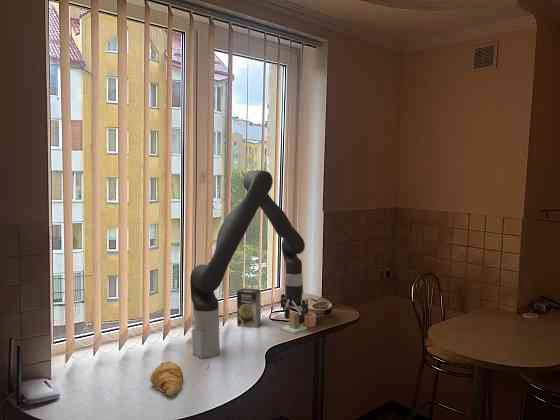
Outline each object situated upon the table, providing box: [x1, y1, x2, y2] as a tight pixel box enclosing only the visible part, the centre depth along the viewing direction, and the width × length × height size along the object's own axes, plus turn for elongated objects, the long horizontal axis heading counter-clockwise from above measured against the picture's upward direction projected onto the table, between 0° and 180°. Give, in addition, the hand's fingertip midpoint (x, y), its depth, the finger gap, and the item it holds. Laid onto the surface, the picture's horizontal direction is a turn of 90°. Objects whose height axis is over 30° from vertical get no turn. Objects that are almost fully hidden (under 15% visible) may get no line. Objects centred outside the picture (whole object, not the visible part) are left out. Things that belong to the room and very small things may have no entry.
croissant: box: [149, 361, 184, 397], centre depth 151 cm, size 21×10×8 cm, turn 22°
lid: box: [281, 311, 308, 335], centre depth 199 cm, size 8×8×7 cm
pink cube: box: [300, 311, 317, 328], centre depth 205 cm, size 6×6×5 cm
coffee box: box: [236, 287, 262, 329], centre depth 205 cm, size 9×6×16 cm
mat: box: [280, 328, 309, 335], centre depth 199 cm, size 9×9×1 cm
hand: (294, 320), depth 199 cm, fingers open, 8 cm apart
